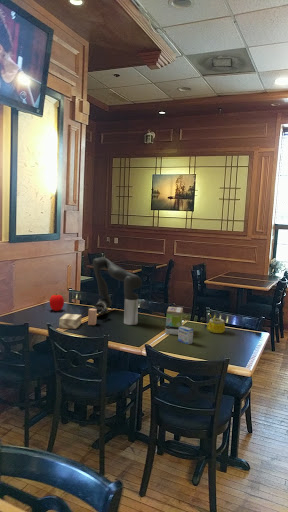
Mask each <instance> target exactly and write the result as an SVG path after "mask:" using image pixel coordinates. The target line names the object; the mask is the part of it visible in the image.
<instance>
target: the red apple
mask: <svg viewBox="0 0 288 512" xmlns="http://www.w3.org/2000/svg"><path fill="white" fill-rule="evenodd" d="M48 302H49V306H50V309H51V310H52V311H55V312H58V311H61V310H62V309H63V308H64V304H65V300H64V297H63V296H62V295H61V294H58V293H56V294H53V295H52V294H51V296H50V298H49V301H48Z"/></svg>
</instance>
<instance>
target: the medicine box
mask: <svg viewBox="0 0 288 512" xmlns="http://www.w3.org/2000/svg"><path fill="white" fill-rule="evenodd" d="M193 338H194V328H190V327H187V326H184V325H182V326H181V327H179V332H178V336H177V341H178V342H179V343H182V344H186V345H191V344H193V340H194V339H193Z"/></svg>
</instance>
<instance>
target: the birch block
mask: <svg viewBox="0 0 288 512" xmlns="http://www.w3.org/2000/svg"><path fill="white" fill-rule="evenodd" d="M58 319H59V321H58V322H59V323H58V324H59V325H58V327H59V328H60V329H74V330H77V328H79V326H80V325H81V324H82V314H76V313H75V314H74V313H64V314H63V315H62V316H61V317H60V318H58Z"/></svg>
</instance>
